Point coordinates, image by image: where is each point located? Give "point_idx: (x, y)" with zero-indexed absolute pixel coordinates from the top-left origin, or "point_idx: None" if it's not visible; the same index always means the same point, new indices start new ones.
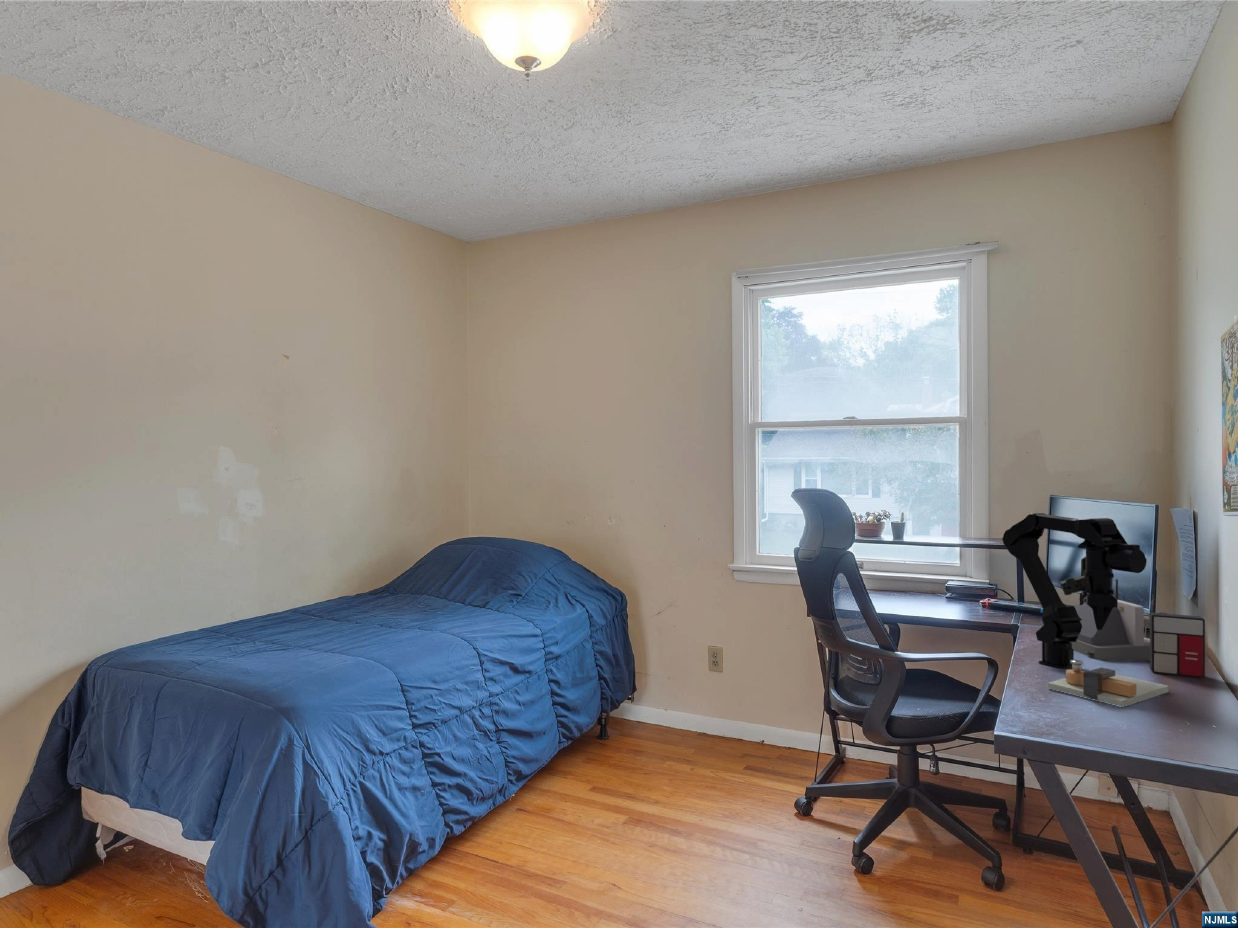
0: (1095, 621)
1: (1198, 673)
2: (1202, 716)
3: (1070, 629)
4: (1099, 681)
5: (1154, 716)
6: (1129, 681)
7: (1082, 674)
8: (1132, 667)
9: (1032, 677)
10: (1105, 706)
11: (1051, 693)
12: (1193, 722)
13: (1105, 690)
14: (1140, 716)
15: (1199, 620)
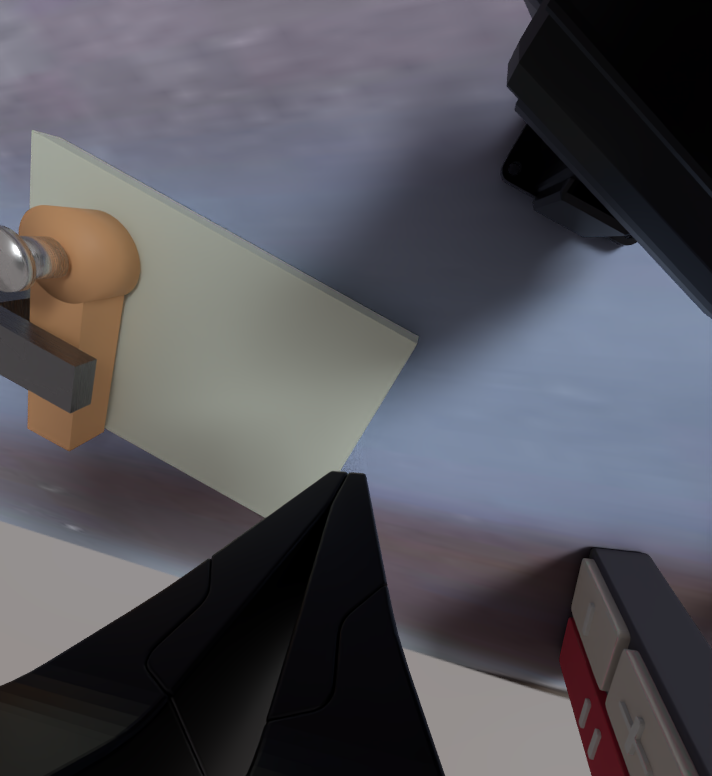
0: (267, 518)
1: (562, 661)
2: (125, 528)
3: (595, 191)
4: None
5: (41, 437)
6: (280, 441)
7: (40, 281)
8: (677, 500)
9: (201, 25)
10: None
11: (16, 158)
12: (65, 500)
13: None
14: (14, 407)
15: None
